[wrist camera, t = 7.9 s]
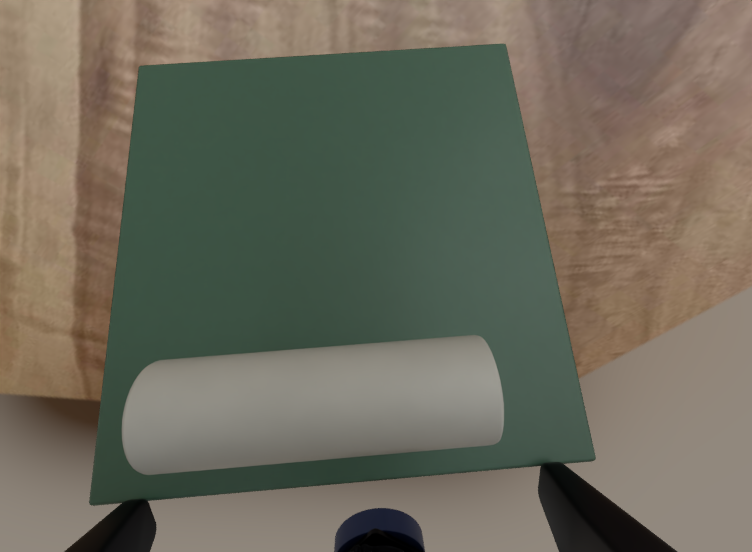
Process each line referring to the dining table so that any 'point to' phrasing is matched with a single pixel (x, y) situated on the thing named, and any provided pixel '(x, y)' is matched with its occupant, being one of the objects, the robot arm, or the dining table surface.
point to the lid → (331, 280)
